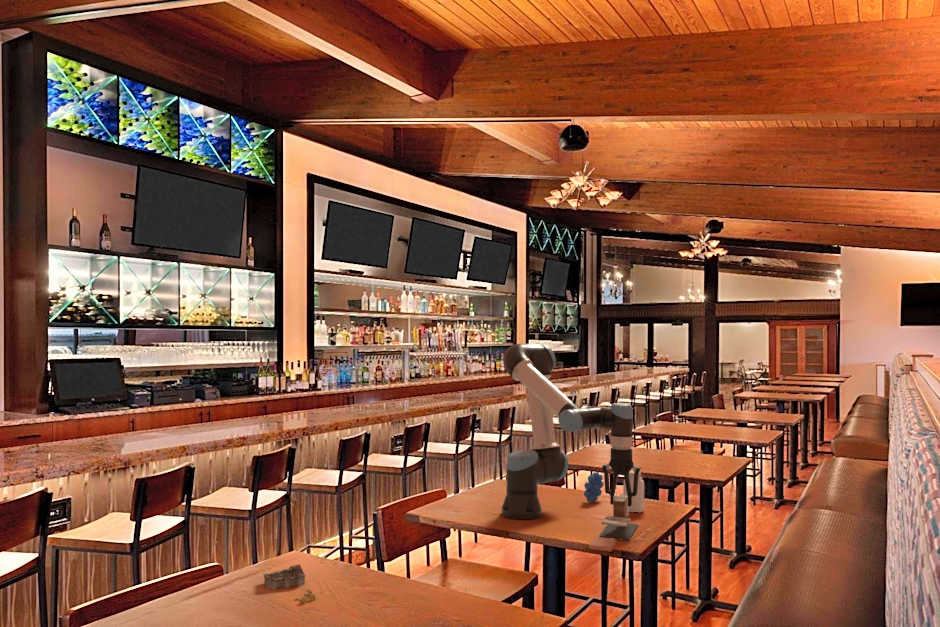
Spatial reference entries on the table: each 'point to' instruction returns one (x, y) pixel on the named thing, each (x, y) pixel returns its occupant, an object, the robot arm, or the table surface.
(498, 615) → the table surface
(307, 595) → the olive irregular clump
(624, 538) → the mat
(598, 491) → the grapes
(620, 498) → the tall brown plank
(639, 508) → the pill bottle
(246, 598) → the table surface
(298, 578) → the grey textured block
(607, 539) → the tile
